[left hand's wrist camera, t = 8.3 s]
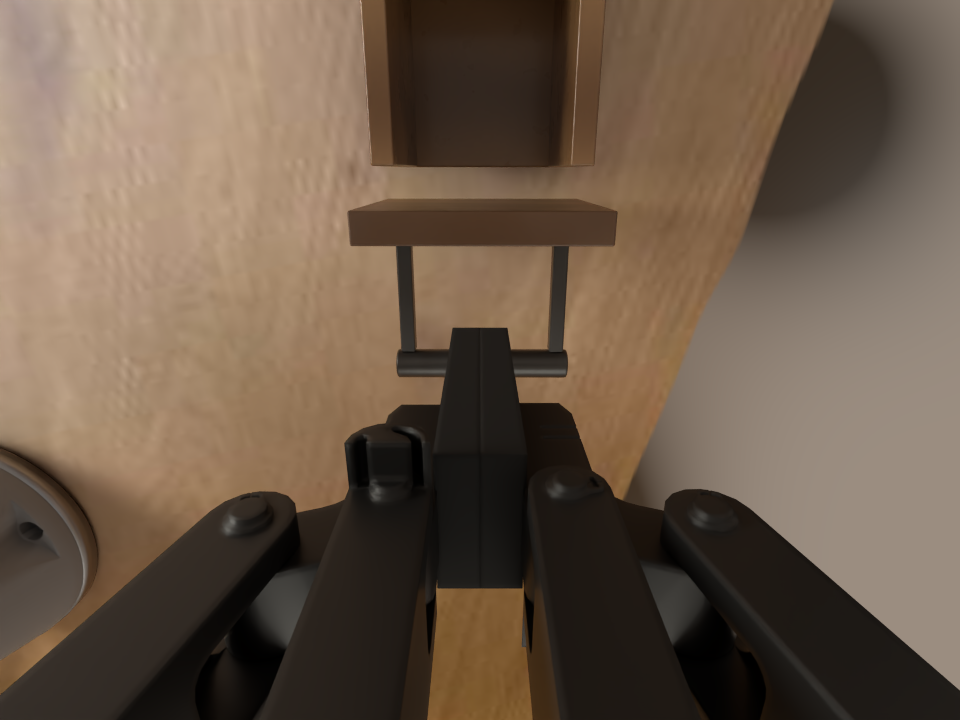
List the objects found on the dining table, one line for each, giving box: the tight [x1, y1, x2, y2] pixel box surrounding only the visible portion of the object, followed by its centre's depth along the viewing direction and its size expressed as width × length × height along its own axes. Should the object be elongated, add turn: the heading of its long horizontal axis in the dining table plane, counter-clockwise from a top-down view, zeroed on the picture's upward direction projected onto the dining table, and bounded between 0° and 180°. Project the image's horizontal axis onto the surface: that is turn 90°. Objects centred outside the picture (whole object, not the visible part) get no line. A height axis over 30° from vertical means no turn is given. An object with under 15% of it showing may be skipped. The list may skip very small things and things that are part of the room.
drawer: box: [347, 0, 617, 377], centre depth 20 cm, size 26×9×8 cm, turn 0°
